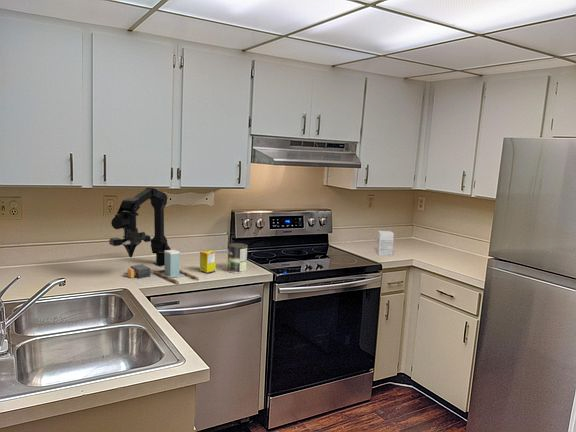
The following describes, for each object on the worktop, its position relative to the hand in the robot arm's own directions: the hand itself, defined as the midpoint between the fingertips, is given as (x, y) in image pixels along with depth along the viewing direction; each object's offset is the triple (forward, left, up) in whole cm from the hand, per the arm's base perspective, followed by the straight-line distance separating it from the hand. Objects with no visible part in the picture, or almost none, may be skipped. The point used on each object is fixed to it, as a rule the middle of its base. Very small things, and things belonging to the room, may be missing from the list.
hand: (130, 257), depth 227 cm
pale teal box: (+8, +18, -9) cm, 22 cm away
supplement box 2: (+42, +153, -10) cm, 159 cm away
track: (+12, +18, -10) cm, 24 cm away
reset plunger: (0, +3, -10) cm, 10 cm away
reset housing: (0, +5, -10) cm, 11 cm away
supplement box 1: (+13, +36, -10) cm, 40 cm away
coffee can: (+20, +50, -10) cm, 55 cm away
